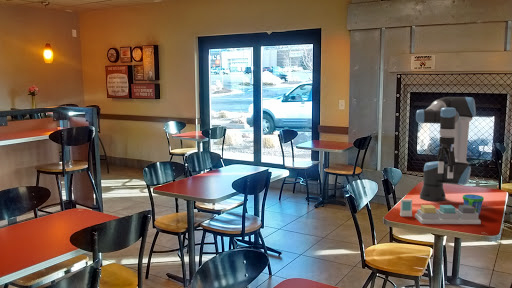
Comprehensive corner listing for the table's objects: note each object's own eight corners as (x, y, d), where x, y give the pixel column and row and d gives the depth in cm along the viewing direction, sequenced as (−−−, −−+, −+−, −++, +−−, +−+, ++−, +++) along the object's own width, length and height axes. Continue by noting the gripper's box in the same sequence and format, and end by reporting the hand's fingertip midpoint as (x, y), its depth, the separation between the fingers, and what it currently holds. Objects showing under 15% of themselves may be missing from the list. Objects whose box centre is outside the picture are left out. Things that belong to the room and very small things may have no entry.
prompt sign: (399, 214, 261) (400, 198, 259) (410, 214, 260) (411, 198, 259) (401, 216, 258) (401, 200, 256) (412, 216, 257) (412, 200, 256)
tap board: (414, 217, 256) (415, 208, 255) (471, 217, 255) (471, 208, 254) (421, 223, 244) (422, 214, 243) (480, 224, 243) (481, 214, 242)
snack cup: (478, 219, 251) (479, 200, 250) (457, 215, 258) (458, 197, 256) (486, 213, 263) (487, 195, 262) (466, 209, 270) (467, 192, 268)
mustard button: (420, 212, 252) (420, 204, 252) (431, 212, 252) (432, 205, 252) (424, 215, 246) (424, 207, 246) (435, 215, 246) (436, 208, 246)
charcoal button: (458, 212, 251) (458, 205, 251) (469, 212, 251) (470, 205, 251) (462, 215, 246) (463, 208, 245) (474, 215, 245) (474, 208, 245)
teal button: (439, 212, 252) (439, 205, 251) (450, 212, 252) (451, 205, 251) (443, 215, 246) (443, 208, 245) (455, 215, 246) (455, 208, 245)
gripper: (431, 134, 263) (430, 171, 266) (449, 139, 239) (447, 180, 242) (445, 133, 263) (443, 171, 266) (463, 139, 239) (461, 180, 241)
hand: (445, 175), depth 254 cm, fingers open, 13 cm apart
